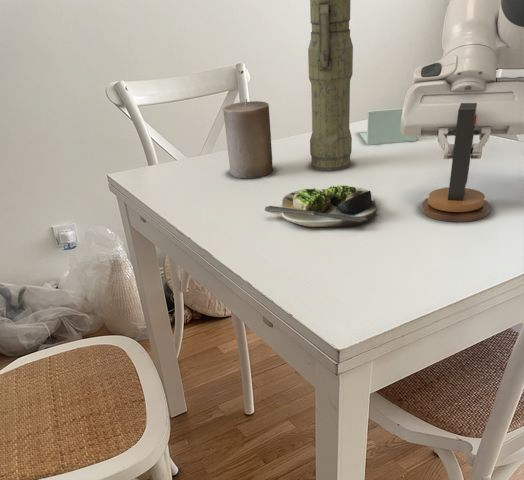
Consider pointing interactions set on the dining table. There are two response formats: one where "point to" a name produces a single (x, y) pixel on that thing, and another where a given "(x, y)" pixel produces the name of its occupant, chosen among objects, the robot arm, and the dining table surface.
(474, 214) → the swivel stand
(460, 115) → the slab on wooden base
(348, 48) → the thermos
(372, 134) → the right angle wall
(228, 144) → the pillar candle
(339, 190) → the salad plate
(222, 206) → the dining table surface
